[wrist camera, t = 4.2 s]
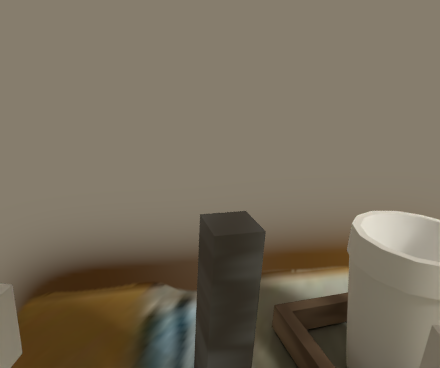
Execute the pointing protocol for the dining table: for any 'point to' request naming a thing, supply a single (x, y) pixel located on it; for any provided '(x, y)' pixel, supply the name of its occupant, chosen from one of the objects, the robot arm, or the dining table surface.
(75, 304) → the dining table surface
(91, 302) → the dining table surface
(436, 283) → the foam cup
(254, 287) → the sliding frame
